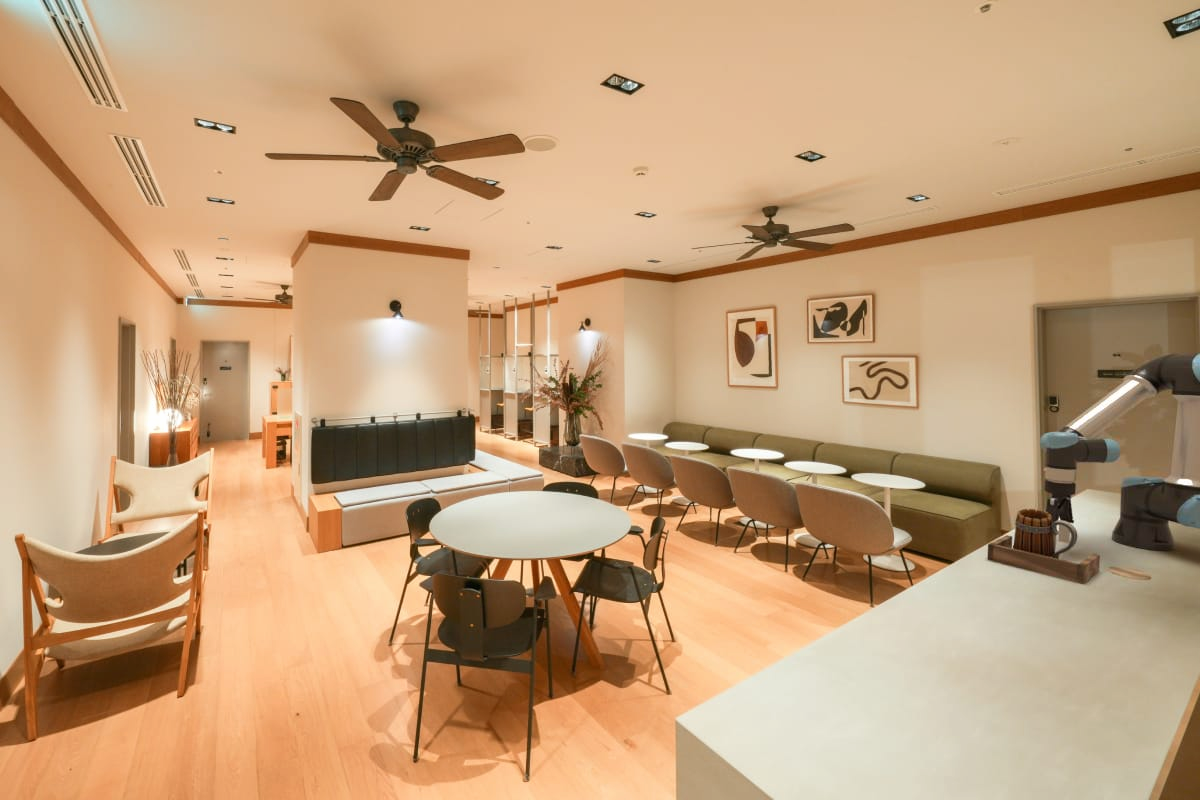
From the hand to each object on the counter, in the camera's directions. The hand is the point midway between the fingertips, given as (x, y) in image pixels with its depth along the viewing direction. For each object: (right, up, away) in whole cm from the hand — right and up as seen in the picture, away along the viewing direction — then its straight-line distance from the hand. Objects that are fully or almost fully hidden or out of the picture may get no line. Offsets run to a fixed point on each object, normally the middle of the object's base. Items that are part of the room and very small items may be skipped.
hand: (1056, 546), depth 171 cm
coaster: (+9, -4, -14) cm, 17 cm away
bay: (-11, -4, -7) cm, 14 cm away
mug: (-10, -3, -7) cm, 13 cm away
